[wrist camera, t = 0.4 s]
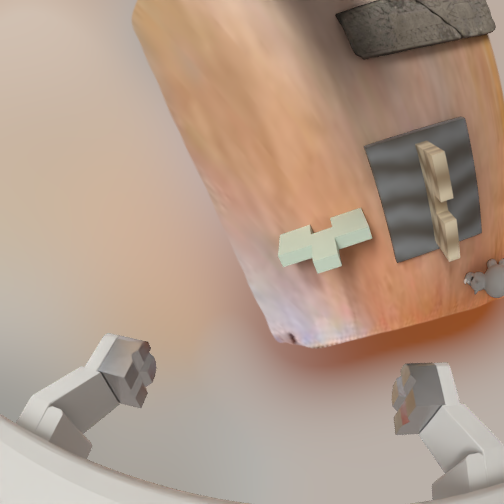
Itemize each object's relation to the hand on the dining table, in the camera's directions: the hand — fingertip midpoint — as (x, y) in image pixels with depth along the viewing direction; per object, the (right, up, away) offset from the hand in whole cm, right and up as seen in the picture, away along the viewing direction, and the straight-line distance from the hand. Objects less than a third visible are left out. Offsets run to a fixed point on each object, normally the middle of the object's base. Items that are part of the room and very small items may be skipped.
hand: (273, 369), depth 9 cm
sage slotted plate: (+12, +8, +50) cm, 52 cm away
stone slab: (+28, +43, +28) cm, 58 cm away
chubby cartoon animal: (+52, 0, +50) cm, 72 cm away
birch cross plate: (+32, +15, +43) cm, 56 cm away
